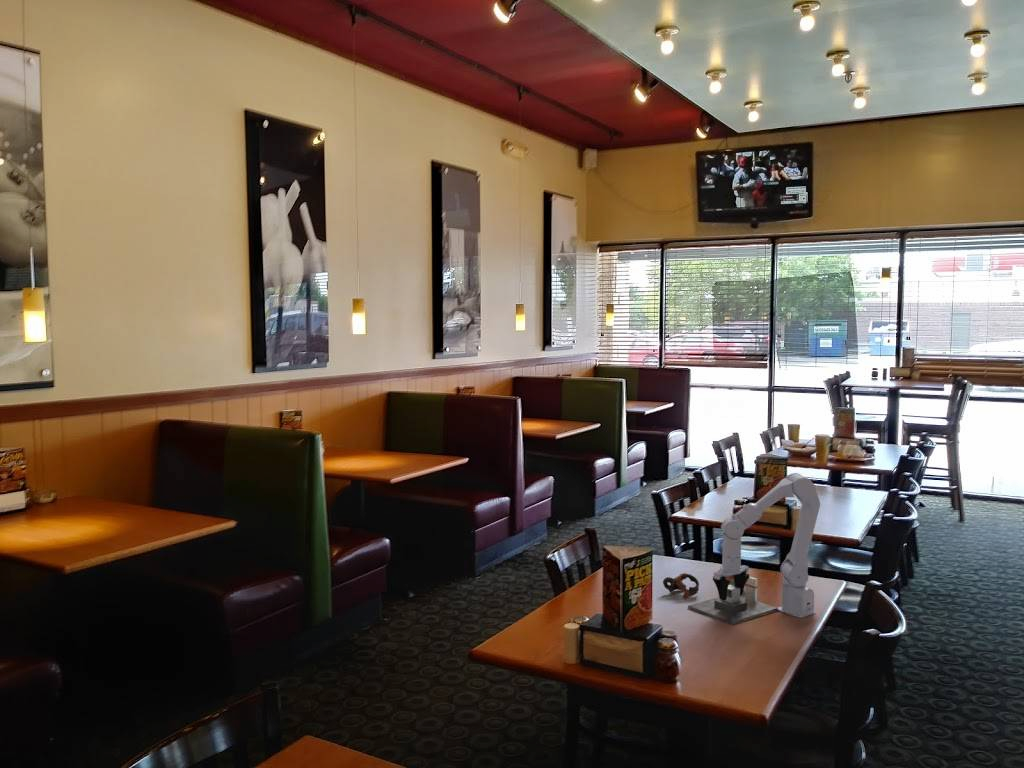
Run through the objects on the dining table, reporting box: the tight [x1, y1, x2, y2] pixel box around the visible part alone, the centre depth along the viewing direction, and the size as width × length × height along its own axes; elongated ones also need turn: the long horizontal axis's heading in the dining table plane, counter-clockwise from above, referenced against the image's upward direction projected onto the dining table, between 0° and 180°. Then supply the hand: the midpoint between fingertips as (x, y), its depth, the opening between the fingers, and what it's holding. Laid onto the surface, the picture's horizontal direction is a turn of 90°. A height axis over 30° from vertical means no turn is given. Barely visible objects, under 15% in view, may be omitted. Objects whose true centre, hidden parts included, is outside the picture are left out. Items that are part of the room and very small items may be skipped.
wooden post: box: [722, 585, 740, 605], centre depth 264 cm, size 4×4×6 cm
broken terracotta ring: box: [662, 573, 700, 600], centre depth 280 cm, size 12×10×8 cm
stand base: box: [687, 576, 778, 625], centre depth 265 cm, size 18×22×9 cm
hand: (730, 597), depth 264 cm, fingers open, 7 cm apart
